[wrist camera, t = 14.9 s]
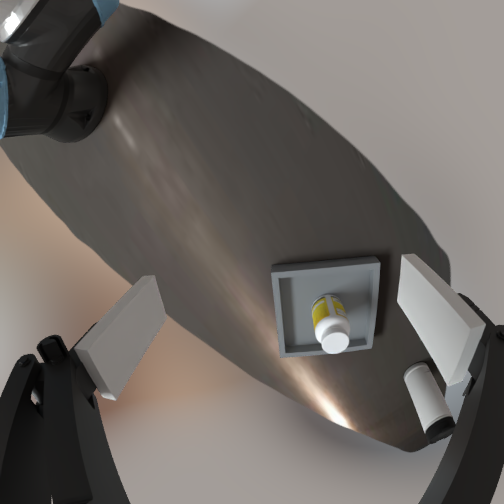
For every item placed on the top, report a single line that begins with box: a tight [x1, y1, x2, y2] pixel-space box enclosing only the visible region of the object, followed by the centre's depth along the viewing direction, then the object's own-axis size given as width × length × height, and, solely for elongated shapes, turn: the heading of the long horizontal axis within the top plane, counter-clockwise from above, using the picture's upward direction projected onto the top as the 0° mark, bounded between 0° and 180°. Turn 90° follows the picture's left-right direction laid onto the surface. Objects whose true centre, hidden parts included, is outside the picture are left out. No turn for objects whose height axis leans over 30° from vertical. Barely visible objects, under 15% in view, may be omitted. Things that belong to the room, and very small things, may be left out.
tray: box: [271, 256, 380, 358], centre depth 44 cm, size 17×17×3 cm
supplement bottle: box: [312, 295, 350, 354], centre depth 40 cm, size 5×5×10 cm
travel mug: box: [404, 362, 456, 444], centre depth 40 cm, size 6×7×20 cm
